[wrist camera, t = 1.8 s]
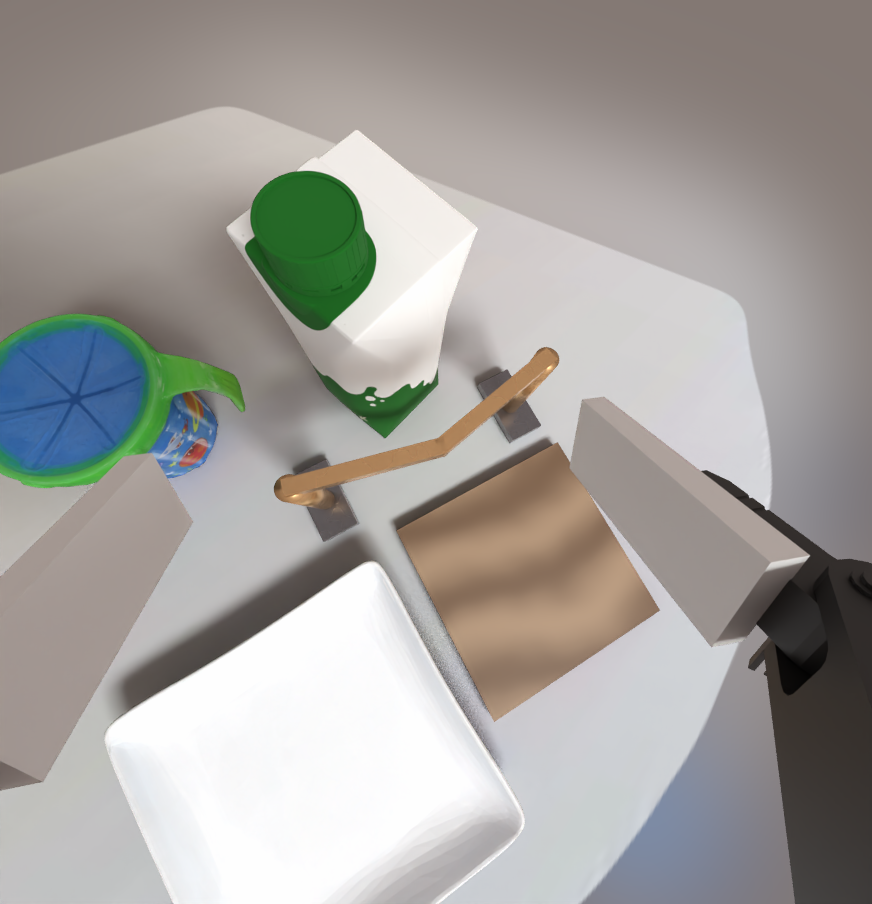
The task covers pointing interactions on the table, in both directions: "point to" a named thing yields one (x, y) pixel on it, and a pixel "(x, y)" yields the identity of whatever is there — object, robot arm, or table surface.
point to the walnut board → (526, 578)
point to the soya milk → (359, 273)
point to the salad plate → (315, 764)
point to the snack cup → (100, 402)
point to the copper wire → (418, 447)
